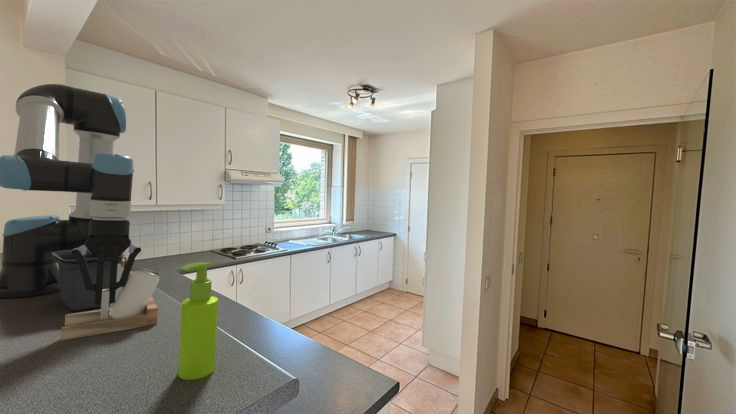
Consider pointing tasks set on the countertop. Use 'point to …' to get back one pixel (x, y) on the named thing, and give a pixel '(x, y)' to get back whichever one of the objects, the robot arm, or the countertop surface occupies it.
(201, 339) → the soap dispenser
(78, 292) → the storage bin
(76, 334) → the guide lane
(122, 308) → the can
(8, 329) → the countertop surface
